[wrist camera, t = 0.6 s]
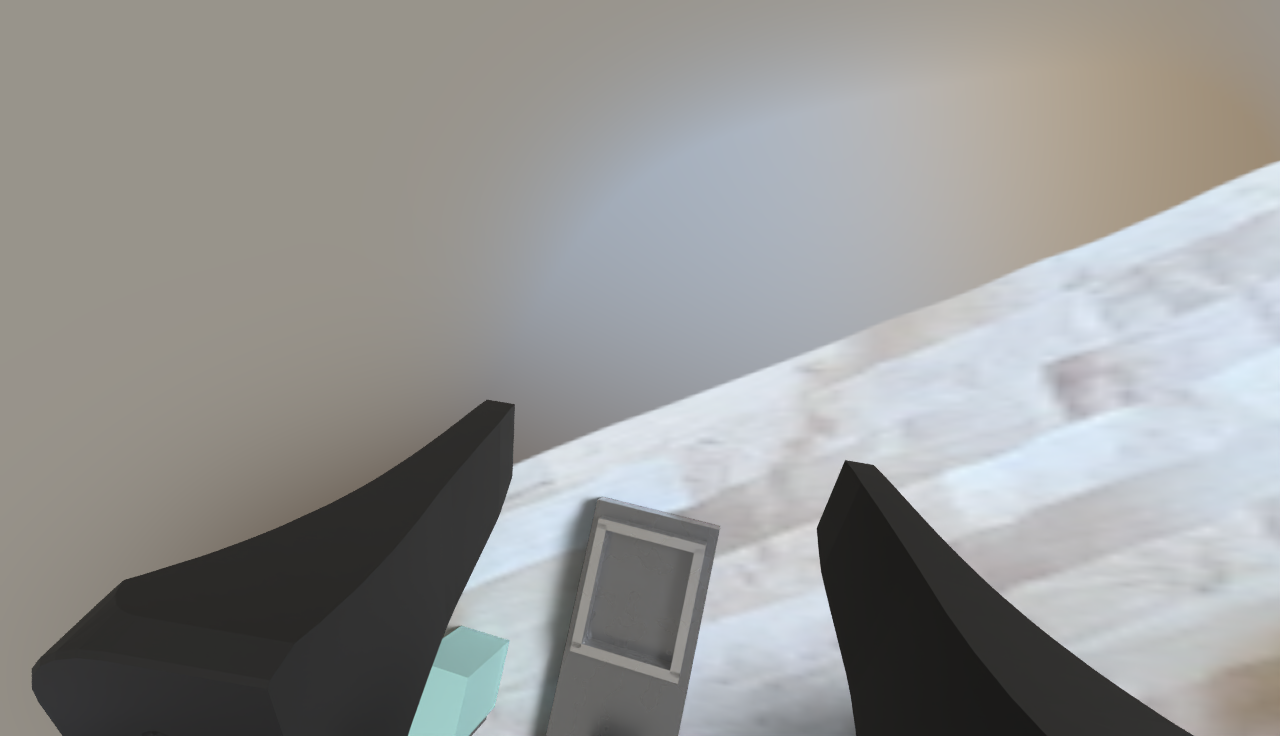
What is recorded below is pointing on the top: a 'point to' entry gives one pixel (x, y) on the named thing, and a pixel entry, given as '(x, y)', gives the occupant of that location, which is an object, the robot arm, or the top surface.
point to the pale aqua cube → (461, 684)
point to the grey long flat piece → (634, 623)
